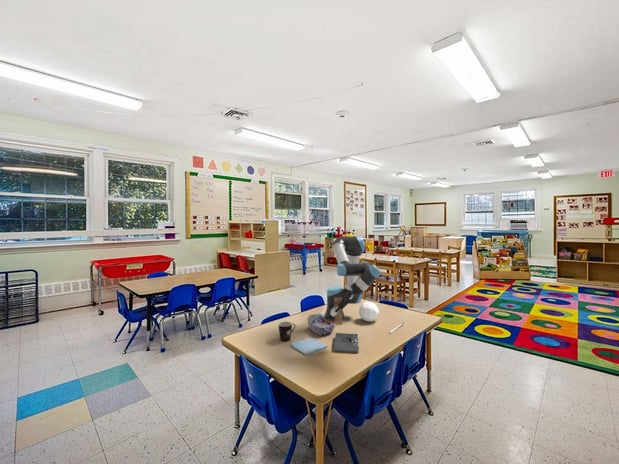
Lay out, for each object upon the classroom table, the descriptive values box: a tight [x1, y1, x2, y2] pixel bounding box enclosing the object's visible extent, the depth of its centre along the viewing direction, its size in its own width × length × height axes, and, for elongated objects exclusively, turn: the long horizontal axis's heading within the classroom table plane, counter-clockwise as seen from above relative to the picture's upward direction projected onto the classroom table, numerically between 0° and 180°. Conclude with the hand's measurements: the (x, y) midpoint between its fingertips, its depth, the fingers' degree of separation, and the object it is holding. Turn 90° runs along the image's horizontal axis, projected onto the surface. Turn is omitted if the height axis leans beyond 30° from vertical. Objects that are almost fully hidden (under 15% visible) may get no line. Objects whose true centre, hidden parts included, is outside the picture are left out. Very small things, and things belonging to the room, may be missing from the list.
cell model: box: [307, 313, 336, 336], centre depth 198 cm, size 13×11×20 cm
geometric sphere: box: [358, 301, 380, 323], centre depth 218 cm, size 14×15×15 cm
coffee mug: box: [277, 321, 296, 342], centre depth 185 cm, size 12×9×10 cm
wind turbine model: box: [388, 321, 404, 334], centre depth 207 cm, size 16×2×30 cm
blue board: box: [289, 337, 328, 356], centre depth 174 cm, size 16×16×1 cm
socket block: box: [333, 332, 360, 354], centre depth 176 cm, size 20×14×3 cm
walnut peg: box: [334, 298, 343, 326], centre depth 173 cm, size 4×4×15 cm
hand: (332, 313), depth 174 cm, fingers closed on walnut peg, 4 cm apart
